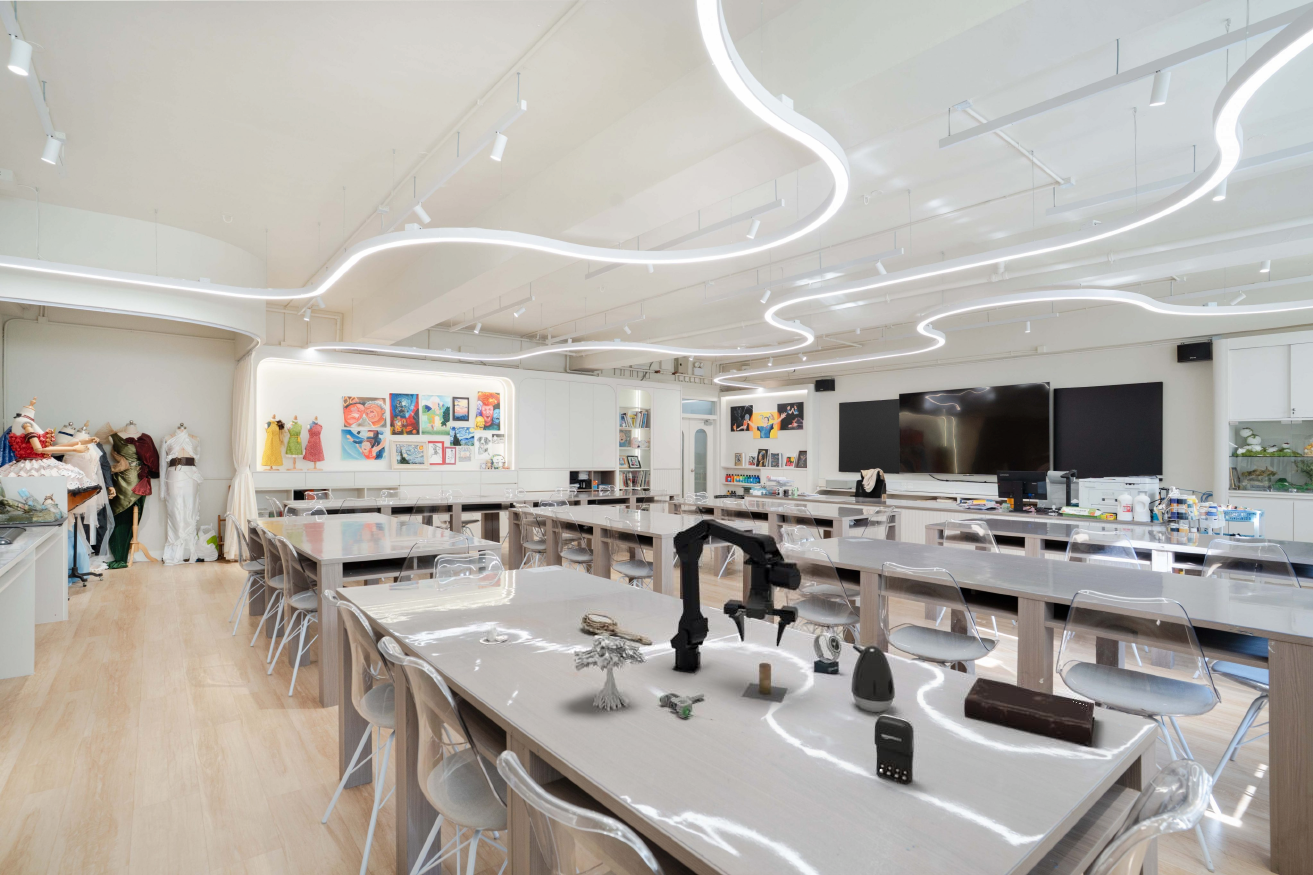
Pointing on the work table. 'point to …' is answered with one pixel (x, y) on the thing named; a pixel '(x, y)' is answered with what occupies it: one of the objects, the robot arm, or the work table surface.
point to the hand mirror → (608, 626)
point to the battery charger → (894, 748)
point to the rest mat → (753, 692)
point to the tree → (609, 665)
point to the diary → (1031, 711)
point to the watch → (825, 663)
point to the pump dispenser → (872, 680)
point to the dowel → (765, 678)
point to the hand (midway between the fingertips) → (760, 643)
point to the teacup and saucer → (493, 636)
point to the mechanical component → (680, 703)
